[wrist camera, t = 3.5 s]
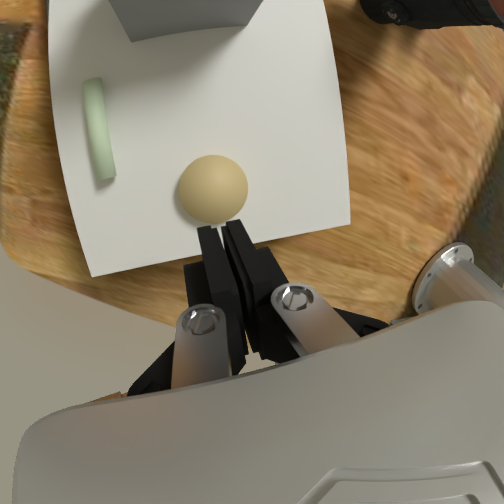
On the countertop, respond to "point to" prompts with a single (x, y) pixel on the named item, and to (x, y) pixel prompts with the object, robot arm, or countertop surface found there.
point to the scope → (435, 12)
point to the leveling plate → (195, 123)
